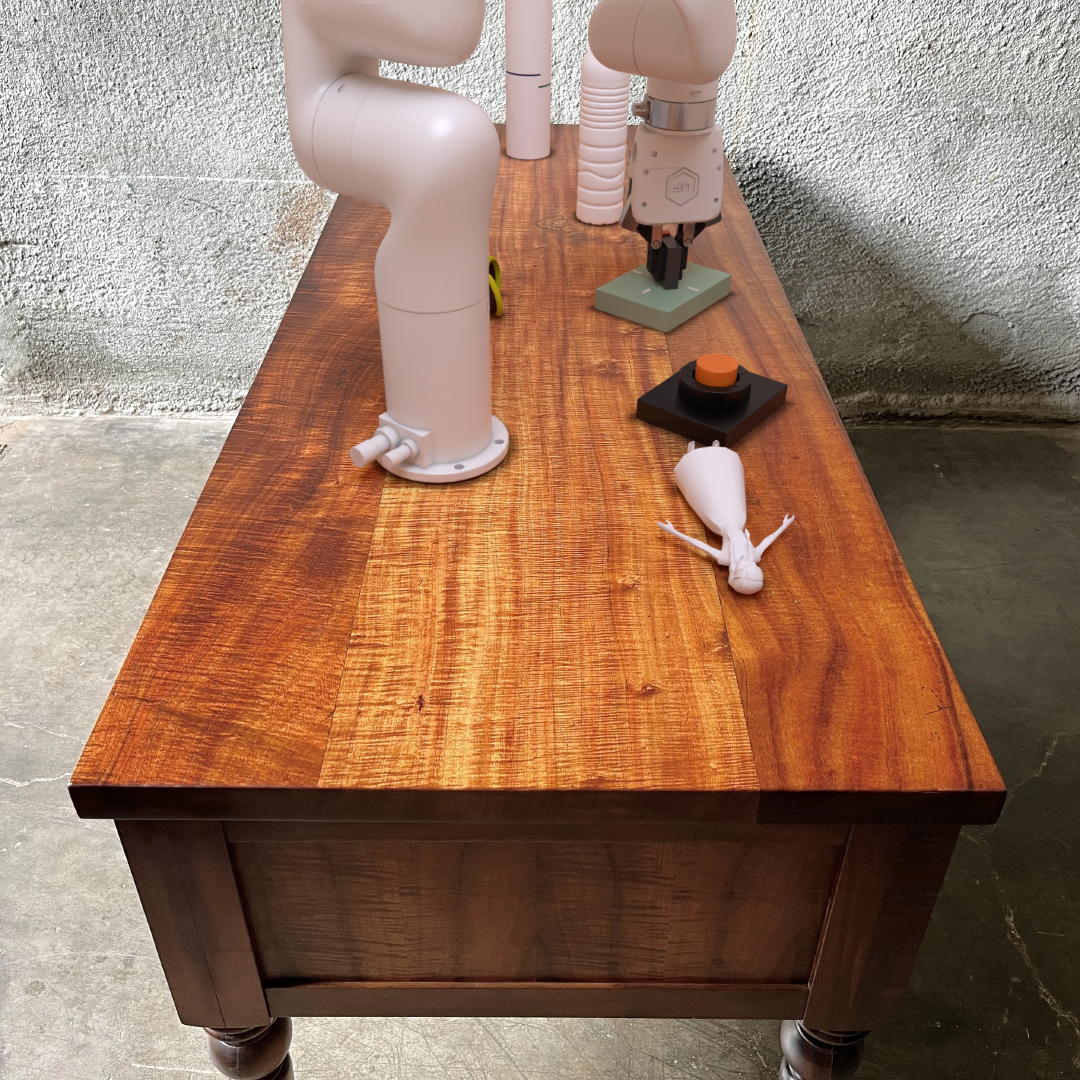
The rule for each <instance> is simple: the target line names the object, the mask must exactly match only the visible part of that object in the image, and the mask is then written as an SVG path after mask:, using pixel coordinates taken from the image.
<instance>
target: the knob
mask: <svg viewBox="0 0 1080 1080" xmlns="http://www.w3.org/2000/svg"><path fill="white" fill-rule="evenodd" d="M674 238H675V237H674V236H673V235H672V234H671V232H670V231H669V230H668V229H667V230H665V229H664V230H663V231H662V242H663V244H662V246H663V247H664V249H665V261H664V272H663V280H662V281H661V282H659V283H660V284H661V285H662V287H663V288H664V289H665V290H669V289H678V282H679V272H680V261H681V251H682V247H681V246H680V245H679V243H678V242H677V241H676V240H675V239H674Z"/></svg>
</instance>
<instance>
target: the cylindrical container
mask: <svg viewBox="0 0 1080 1080" xmlns="http://www.w3.org/2000/svg"><path fill="white" fill-rule="evenodd" d="M552 40H553V0H504V42H505V43H504V44H505V45H504V46H505V47H504V48H505V49H504V50H505V52H504V53H505V56H504V57H505V140H506V141H505V144H506V145H505V146H506V149H505V150H506V151H505V152H506V155H507V156H509V157H511V158H513V159H518V160H538V159H543V158H546V157H548V156H550V153H551V110H552V109H551V107H552V106H551V105H552V102H551V101H552V48H553V47H552V45H553V44H552V43H553V41H552Z"/></svg>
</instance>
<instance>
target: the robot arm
mask: <svg viewBox="0 0 1080 1080" xmlns="http://www.w3.org/2000/svg"><path fill="white" fill-rule="evenodd" d="M486 1H487V0H280V14H281V15H280V16H281V17H280V18H281V34H282V51H283V69H284V82H285V99H286V111H287V124H288V132H289V138H290V144H291V147H292V151H293V154H294V158H295V159H296V162H297V164H298V165H299V168H300V169H301V171H302V172H303V173H304V175H305V176H306V177H307V178H308V179H309V180H310V181H311V182H312V183H313V184H315V185H317V186H318V187H320V188H322V189H324V190H326V191H329V192H332V193H334V194H338V195H342V196H345V197H348V198H351V199H356V200H359V201H363V202H365V203H370V204H373V205H375V206H377V207H381V208H384V209H386V210H388V211H389V212H390V216H391V217H390V223H389V227H388V229H387V231H386V233H385V235H384V237H383V238H382V241H380V245H379V247H378V249H377V252H376V255H375V259H374V287H375V288H374V289H375V294H376V305H377V316H378V327H379V338H380V339H379V340H380V349H381V351H380V352H381V362H382V372H383V383H384V394H385V406H386V407H385V408H386V411H385V412H383V413H381V414H379V415H378V425H379V426H378V427H377V428H376V429H375V431H374V433H373V434H372V435H373V436H372V437H370V438H368V439H366V440H364V441H361V442H360V443H358V444H356V445H354V446H353V447H351V448H350V449H349V451H348V453H349V458H350V460H351V462H352V463H353V464H354V466H356V467H357V468H360V469H362V468H365V467H366V466H367V465H369V464H371V463H373V462H374V461H377V463H378V464H379V465H380V466H381V467H382V468H383V469H385V470H386V471H388V472H390V473H391V474H392V475H393V474H394V475H396V476H398V477H400V478H402V479H407V480H410V481H414V482H421V483H432V484H434V483H435V484H441V483H442V484H443V483H454V482H460V481H465V480H469V479H472V478H475V477H478V476H480V475H483V474H485V473H487V472H489V471H490V470H492V469H494V468H495V467H497V466H498V465H499V464H500V463H501V462H502V461H503V460H504V459H505V457H506V456H507V454H508V450H509V447H510V438H509V437H510V434H509V432H508V429H507V427H506V426H505V424H504V423H503V421H501V420H500V419H499V418H498V417H497V416H495V415H494V414H493V413H492V410H493V409H492V407H493V406H492V358H491V356H492V355H491V314H490V301H489V255H490V232H491V231H490V230H491V221H492V213H493V205H494V198H495V193H496V188H497V182H498V177H499V171H500V163H501V146H500V139H499V134H498V131H497V129H496V126H495V124H494V123H493V121H492V119H491V117H490V116H489V114H488V113H487V112H486V111H485V110H484V109H483V108H482V107H480V105H478V104H477V103H475V101H473V100H471V99H470V98H468V97H466V96H464V95H462V94H459V93H457V92H454V91H453V90H448V89H445V88H441V87H437V86H432V85H428V84H423V83H419V82H418V83H417V82H412V81H408V80H403V79H393V78H389V77H384V76H381V75H380V60H383V61H387V62H392V63H398V64H404V65H409V66H416V67H423V68H437V69H444V68H451V67H455V66H458V65H460V64H462V63H464V62H465V61H467V60H469V58H470V57H471V56H472V55H473V54H474V52H475V51H476V50H477V47H478V45H479V43H480V40H481V38H482V34H483V29H484V23H485V12H486ZM737 23H738V22H737V12H736V3H735V0H599V2H598V3H597V4H596V6H595V7H594V9H593V11H592V13H591V16H590V18H589V20H588V25H587V42H588V47H589V48H590V49H591V51H592V54H593V55H594V57H595V58H596V59H597V60H598V61H599V62H600V63H601V64H602V65H604V66H605V67H607V68H609V69H611V70H614V71H617V72H622V73H627V74H631V75H634V76H638V77H639V76H640V77H646V92H645V93H643V98H642V101H639V102H634V103H632V106H631V113H632V116H633V117H639V118H642V120H643V122H639V123H638V126H637V128H636V132H635V136H634V140H633V144H632V149H631V153H630V158H629V163H628V172H627V179H626V188H625V204H624V205H623V211H622V213H621V215H620V218H619V221H618V222H617V223H618V224H619V226H620V227H621V228H622V229H623V230H627V231H629V232H633V233H636V234H639V236H641V237H642V238H643V239H644V241H646V242H647V253H646V262H647V265H646V266H647V271H648V272H650V274H651V275H652V276H653V278H654V279H655V280H656V282H661V281H662V280H663V272H664V261H665V249H664V247H663V246H662V244H663V242H662V231H664V225H676V228H675V235H674V237H673V238H674V239H675V240H676V241H677V242H678V243H679V245H680V246H681V247H682V251H681V261H680V272H679V280H682V274H683V270H686V266H687V261H688V256H689V255H688V254H689V247H691V246H692V245H693V244H694V240H695V239H696V238H697V237H698V236H699V235H700V234H701V233H702V232H703V231H704V230H705V229H706V228H710V227H712V226H714V225H716V224H719V223H720V222H721V221H722V219H723V215H722V211H721V209H722V202H723V188H724V187H723V186H724V140H723V130H722V126H721V125H720V124H717V123H716V122H715V121H716V111H717V103H718V93H719V92H718V91H719V89H718V88H719V82H720V77H722V76H723V75H724V73H725V72H726V71H727V70H728V68H729V67H730V64H731V62H732V60H733V57H734V54H735V51H736V45H737V37H738V36H737V35H738V34H737V33H738V29H737V28H738V27H737V26H738V25H737Z"/></svg>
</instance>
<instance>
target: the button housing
mask: <svg viewBox="0 0 1080 1080" xmlns="http://www.w3.org/2000/svg"><path fill="white" fill-rule="evenodd" d="M698 358H699V357H697V358H695V359H694V360H691V361H689V362H688V363H686V364H685V365H683V366H681V367H680V368H679V370H678V371H676V372H675V373H674V374H672V375H670V376H669V377H667V378H666V379H664V380H663V381H662V382H660V383H659V384H657V385H656V386H655V387H653V388H652V389H650V390H648V391H647V392H645V393H644V394H642V395H641V396H640V397H638V398H637V400H636V410H635V411H636V412H635V419H636V420H639V421H642V422H644V423H647V424H650V425H652V426H655V427H657V428H660V429H663V430H665V431H668V432H670V433H672V434H675V435H678V436H680V437H683V438H686V439H688V440H690V441H694V442H696V443H698V444H701V445H704V446H705V447H711V446H712V445H713V442H714V441H716V440H717V441H718V442H719V447H726V448H728V449H731V448H733V446H735V445H736V444H737V443H738V442H739V441H741V440H742V439H743V438H744V437H746V436H747V435H748V434H749V433H751V432H752V431H753V430H754V429H756V428H757V427H758V426H759V425H760V424H762V423H763V422H764V421H766V420H767V419H768V418H769V417H770V416H772V415H773V414H774V413H776V411H778V410H779V409H780V408H781V407H783V406H784V405H785V404H786V398H787V393H788V387H789V384H787V383H784V382H782V381H778V380H776V379H772V378H769V377H766V376H763V375H760V374H758V373H755V372H753V371H752V372H751V371H749V370H748V369H747V368H745V367H744V366H743V365H741V364H739V363H738V371H737V378H736V382H735V384H733V385H730V386H725V387H716V386H707V385H704V384H702V383H699V382H697V381H696V379H695V370H696V361H697V359H698Z"/></svg>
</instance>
